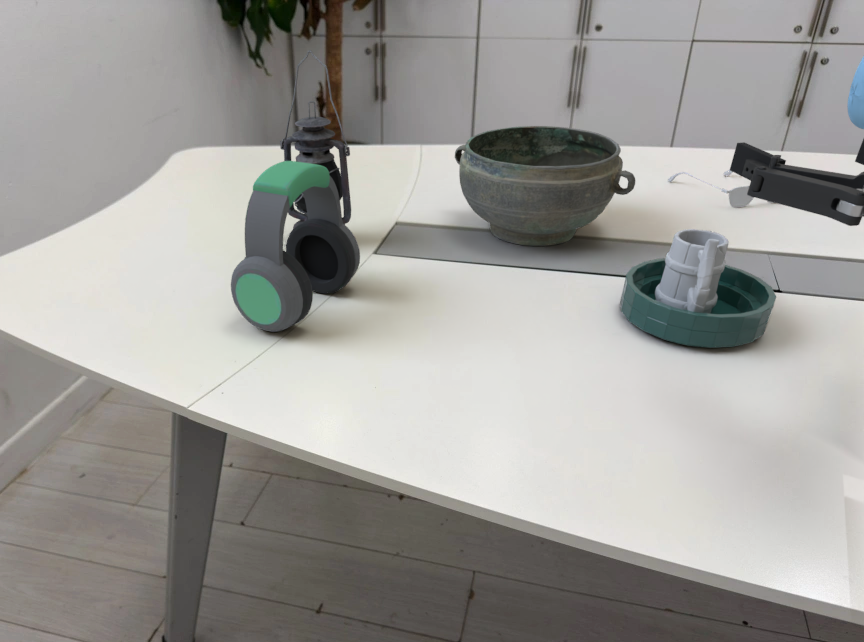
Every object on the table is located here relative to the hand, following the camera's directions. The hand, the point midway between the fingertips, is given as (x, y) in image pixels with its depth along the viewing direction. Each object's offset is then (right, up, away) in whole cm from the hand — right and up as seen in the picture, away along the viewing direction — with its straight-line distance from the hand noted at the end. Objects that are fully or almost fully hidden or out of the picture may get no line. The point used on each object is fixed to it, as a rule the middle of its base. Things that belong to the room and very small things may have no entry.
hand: (800, 152), depth 68 cm
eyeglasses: (+28, +14, +64) cm, 71 cm away
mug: (-1, -14, +21) cm, 26 cm away
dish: (-1, -15, +21) cm, 26 cm away
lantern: (-51, +1, +48) cm, 70 cm away
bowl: (-14, +3, +49) cm, 52 cm away
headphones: (-53, -13, +28) cm, 61 cm away
